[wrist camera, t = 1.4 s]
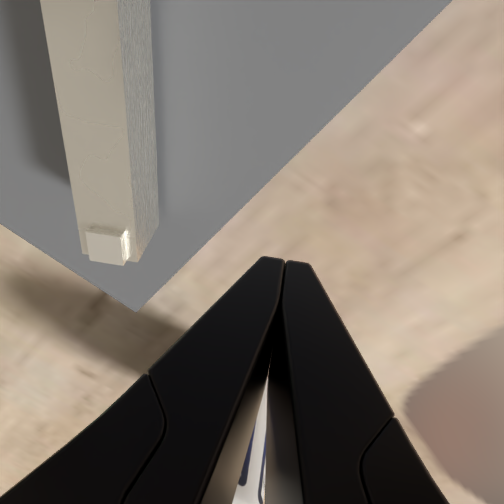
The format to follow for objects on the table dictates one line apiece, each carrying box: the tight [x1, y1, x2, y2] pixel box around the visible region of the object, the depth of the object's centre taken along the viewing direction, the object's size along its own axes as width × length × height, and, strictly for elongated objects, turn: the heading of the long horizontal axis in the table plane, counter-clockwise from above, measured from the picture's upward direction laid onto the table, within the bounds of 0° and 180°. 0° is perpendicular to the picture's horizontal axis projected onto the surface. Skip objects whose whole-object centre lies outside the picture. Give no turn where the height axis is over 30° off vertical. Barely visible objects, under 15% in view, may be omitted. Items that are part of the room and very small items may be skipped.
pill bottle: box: [232, 377, 268, 504], centre depth 22 cm, size 5×5×10 cm
